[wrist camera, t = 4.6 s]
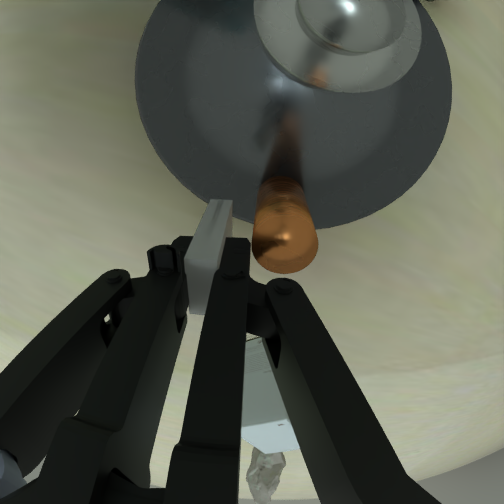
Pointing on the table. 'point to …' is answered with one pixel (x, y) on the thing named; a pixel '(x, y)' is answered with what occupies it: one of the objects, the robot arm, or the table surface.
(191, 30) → the platter
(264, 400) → the small box
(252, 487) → the stone tool
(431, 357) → the table surface
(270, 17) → the cover
